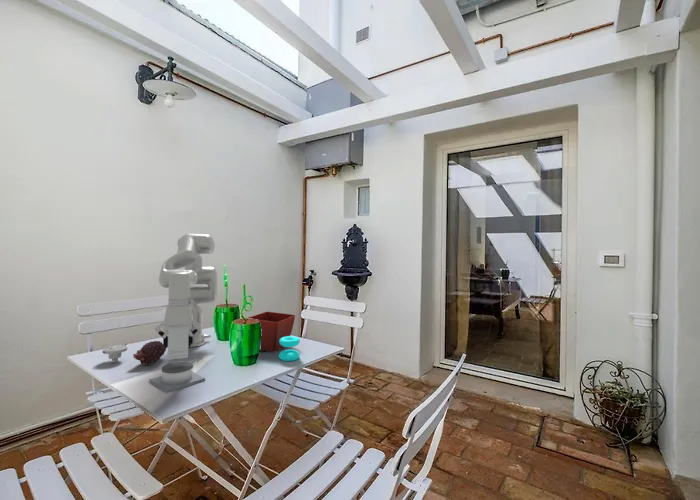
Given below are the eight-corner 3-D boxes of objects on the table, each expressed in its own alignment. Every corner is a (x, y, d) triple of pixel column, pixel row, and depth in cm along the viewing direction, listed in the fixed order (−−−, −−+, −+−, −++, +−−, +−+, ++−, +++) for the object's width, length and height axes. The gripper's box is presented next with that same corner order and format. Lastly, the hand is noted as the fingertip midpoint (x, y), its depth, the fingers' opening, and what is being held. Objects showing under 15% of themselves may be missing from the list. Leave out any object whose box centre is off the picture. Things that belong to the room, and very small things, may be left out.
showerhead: (133, 344, 156) (109, 350, 147) (132, 360, 156) (109, 366, 147) (121, 341, 160) (98, 346, 152) (121, 356, 160) (97, 362, 152)
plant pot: (276, 355, 169) (277, 322, 169) (244, 350, 175) (245, 318, 175) (295, 344, 187) (296, 314, 186) (266, 340, 193) (266, 311, 193)
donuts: (275, 337, 164) (291, 334, 172) (274, 358, 165) (290, 353, 172) (287, 342, 158) (304, 338, 165) (287, 363, 158) (303, 358, 165)
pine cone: (157, 355, 163) (157, 335, 163) (175, 357, 161) (175, 337, 161) (126, 368, 146) (127, 345, 145) (146, 371, 144) (147, 348, 144)
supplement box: (188, 357, 133) (189, 326, 133) (167, 360, 130) (167, 327, 129) (188, 352, 140) (188, 321, 139) (167, 354, 136) (168, 323, 136)
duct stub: (186, 370, 145) (186, 357, 145) (205, 380, 136) (205, 365, 136) (149, 381, 133) (149, 366, 133) (166, 392, 124) (166, 376, 124)
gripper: (203, 300, 141) (202, 342, 141) (155, 301, 134) (155, 345, 135) (202, 303, 134) (201, 347, 134) (152, 305, 127) (151, 351, 128)
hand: (178, 346), depth 135 cm, fingers closed on supplement box, 7 cm apart
